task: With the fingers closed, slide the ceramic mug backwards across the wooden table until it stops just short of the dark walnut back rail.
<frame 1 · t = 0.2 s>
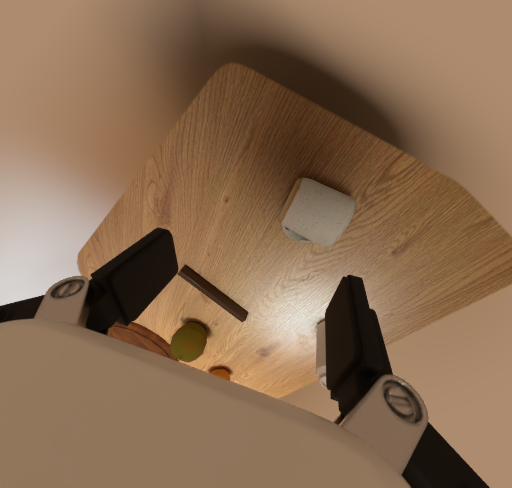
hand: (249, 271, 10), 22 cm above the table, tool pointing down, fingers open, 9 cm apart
back rail: (216, 290, 49), on the table
apple: (198, 326, 62), on the table
cutting board: (144, 343, 83), on the table
can: (333, 326, 45), on the table
ceramic mug: (311, 209, 31), on the table
potato: (220, 369, 76), on the table
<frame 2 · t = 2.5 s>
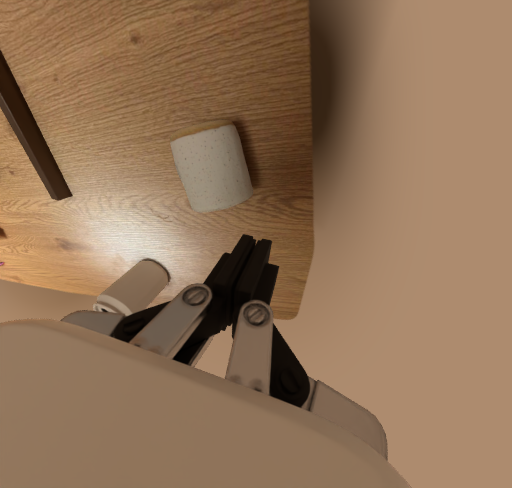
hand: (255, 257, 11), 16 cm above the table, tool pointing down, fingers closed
back rail: (39, 135, 31), on the table
can: (156, 270, 43), on the table
ceramic mug: (218, 164, 25), on the table
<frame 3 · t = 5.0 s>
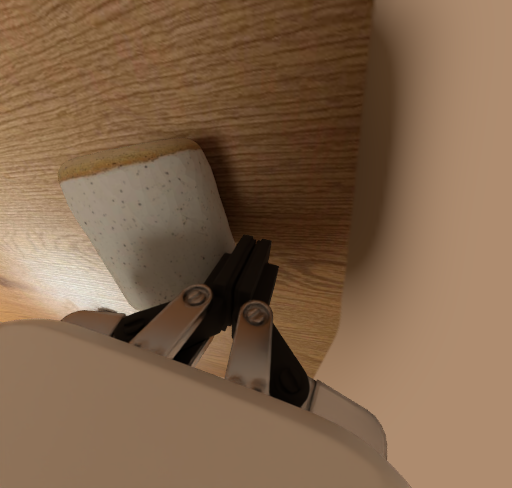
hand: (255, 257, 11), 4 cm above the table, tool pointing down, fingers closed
ceramic mug: (184, 203, 16), on the table, touching gripper
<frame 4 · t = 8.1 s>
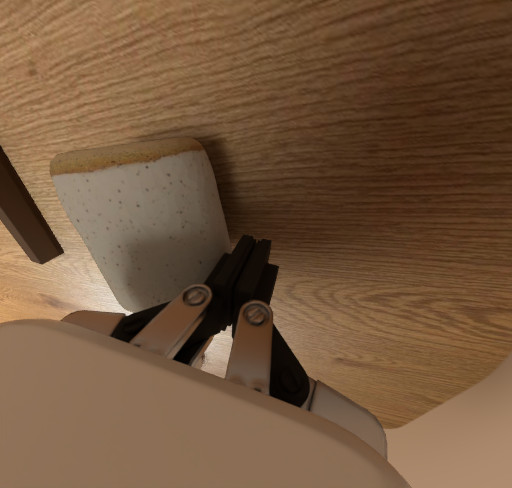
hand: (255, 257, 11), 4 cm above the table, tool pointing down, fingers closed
back rail: (7, 168, 18), on the table
ceramic mug: (181, 201, 15), on the table, touching gripper
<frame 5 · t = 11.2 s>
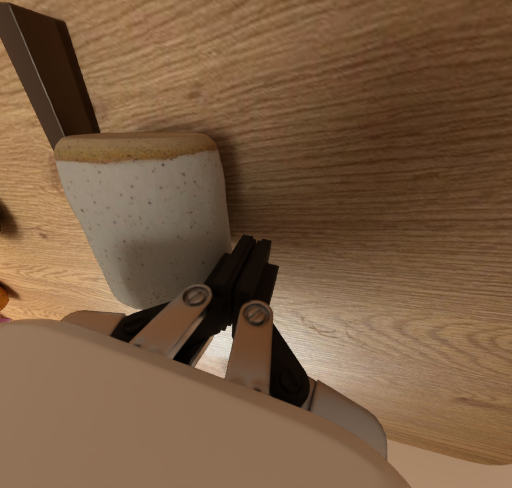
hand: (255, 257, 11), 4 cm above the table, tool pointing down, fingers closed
back rail: (112, 193, 17), on the table
ceramic mug: (182, 194, 15), on the table, touching gripper
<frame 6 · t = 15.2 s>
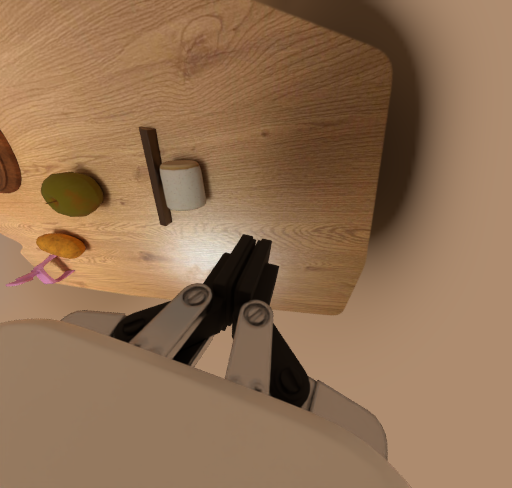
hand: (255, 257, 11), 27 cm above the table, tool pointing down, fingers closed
toy chair: (63, 263, 76), on the table
back rail: (161, 181, 42), on the table
apple: (95, 187, 49), on the table
ceramic mug: (188, 180, 41), on the table
potato: (74, 238, 64), on the table
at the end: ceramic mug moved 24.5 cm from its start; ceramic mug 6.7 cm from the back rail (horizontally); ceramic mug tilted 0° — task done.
